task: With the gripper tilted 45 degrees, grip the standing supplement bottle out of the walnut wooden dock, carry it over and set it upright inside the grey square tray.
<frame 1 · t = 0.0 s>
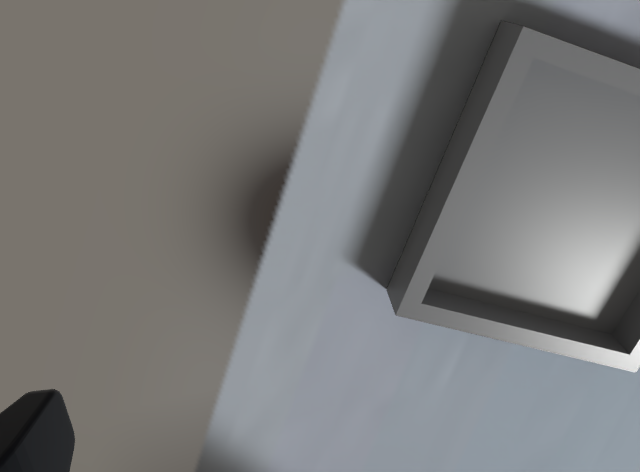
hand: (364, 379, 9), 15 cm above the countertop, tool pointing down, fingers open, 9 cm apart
grey square tray: (564, 205, 24), on the countertop
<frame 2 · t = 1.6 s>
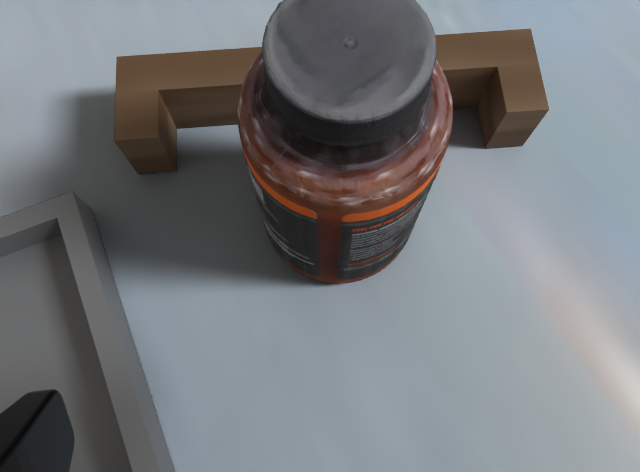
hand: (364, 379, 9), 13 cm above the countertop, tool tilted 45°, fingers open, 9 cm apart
wooden dock: (329, 103, 24), on the countertop
supplement bottle: (337, 217, 24), on the countertop
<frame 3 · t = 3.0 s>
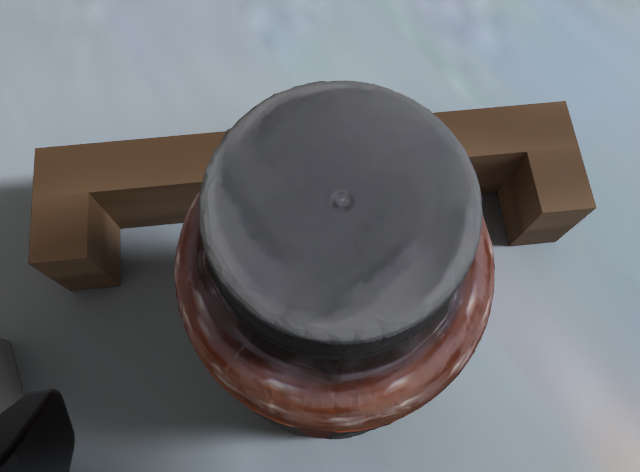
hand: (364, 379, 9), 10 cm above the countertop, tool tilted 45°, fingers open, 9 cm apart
wooden dock: (312, 198, 19), on the countertop
supplement bottle: (326, 341, 19), on the countertop
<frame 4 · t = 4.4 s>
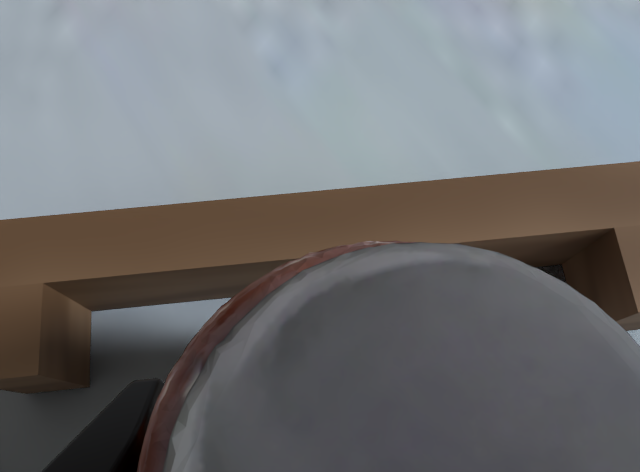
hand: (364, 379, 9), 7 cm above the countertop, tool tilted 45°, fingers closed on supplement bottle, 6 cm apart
wooden dock: (333, 280, 15), on the countertop
supplement bottle: (350, 461, 15), on the countertop, touching gripper
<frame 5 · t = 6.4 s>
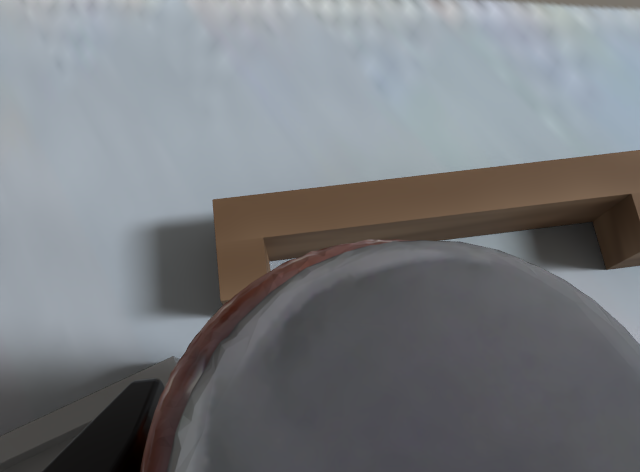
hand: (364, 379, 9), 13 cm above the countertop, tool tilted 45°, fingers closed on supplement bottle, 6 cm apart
wooden dock: (442, 234, 22), on the countertop
supplement bottle: (350, 459, 15), point 6 cm above the countertop, touching gripper
when the fingers open (8 cm above the countertop, at t = 8.7 s): supplement bottle drops 1 cm, resting on grey square tray.
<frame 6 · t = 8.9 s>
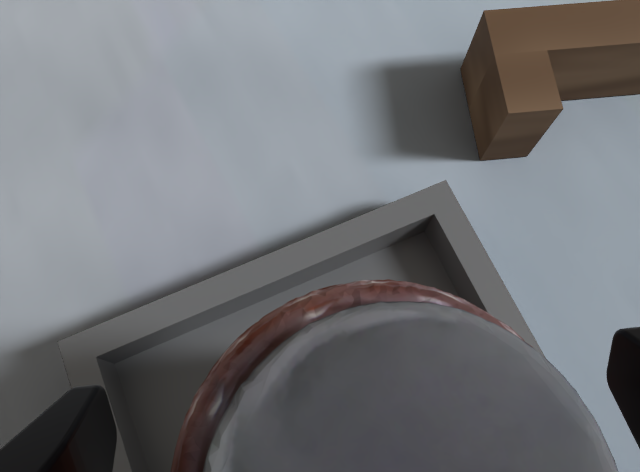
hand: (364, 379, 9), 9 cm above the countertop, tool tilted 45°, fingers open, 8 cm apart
grey square tray: (345, 458, 16), on the countertop
supplement bottle: (351, 462, 16), resting on grey square tray
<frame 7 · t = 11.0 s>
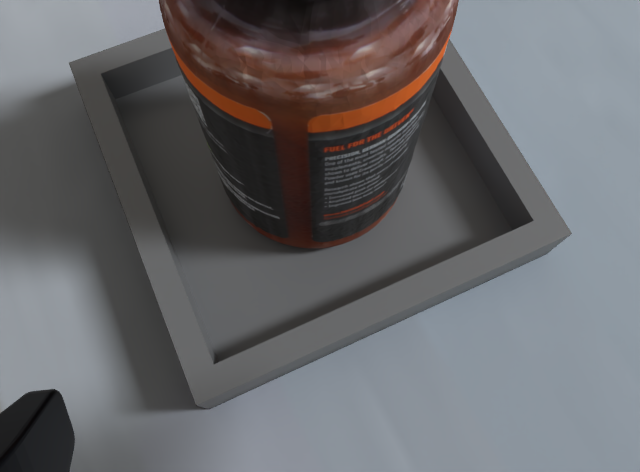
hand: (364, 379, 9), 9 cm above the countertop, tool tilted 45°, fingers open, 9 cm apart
grey square tray: (308, 172, 20), on the countertop
supplement bottle: (312, 171, 19), resting on grey square tray
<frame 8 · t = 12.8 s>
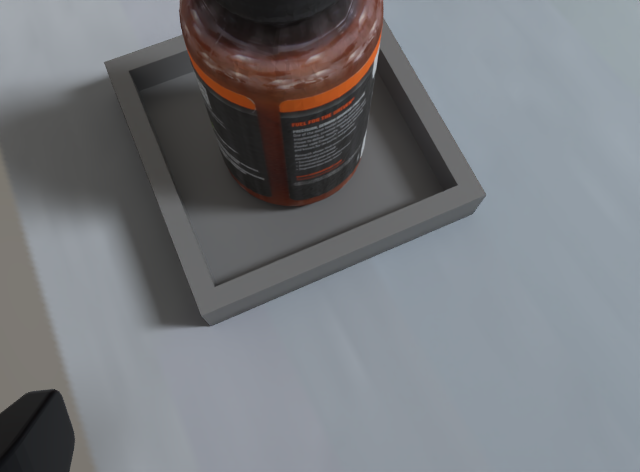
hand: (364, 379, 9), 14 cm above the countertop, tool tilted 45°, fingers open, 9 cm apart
grey square tray: (289, 149, 25), on the countertop
supplement bottle: (292, 148, 25), resting on grey square tray
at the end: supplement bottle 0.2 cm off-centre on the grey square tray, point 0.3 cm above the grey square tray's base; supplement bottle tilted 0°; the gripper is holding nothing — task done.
